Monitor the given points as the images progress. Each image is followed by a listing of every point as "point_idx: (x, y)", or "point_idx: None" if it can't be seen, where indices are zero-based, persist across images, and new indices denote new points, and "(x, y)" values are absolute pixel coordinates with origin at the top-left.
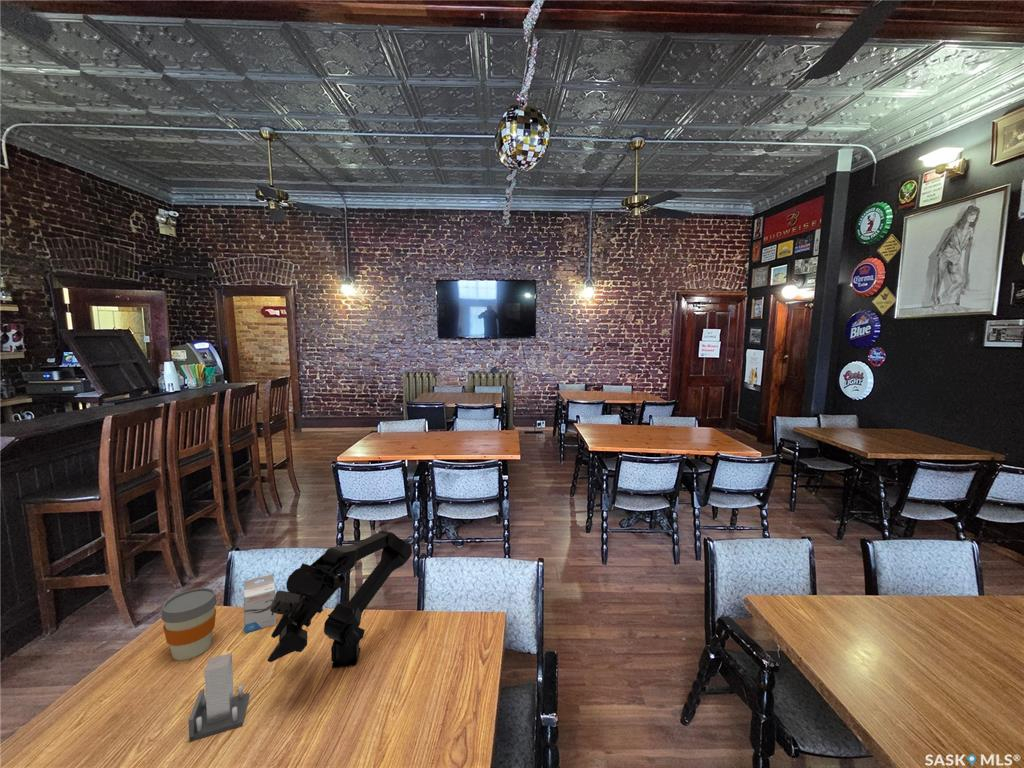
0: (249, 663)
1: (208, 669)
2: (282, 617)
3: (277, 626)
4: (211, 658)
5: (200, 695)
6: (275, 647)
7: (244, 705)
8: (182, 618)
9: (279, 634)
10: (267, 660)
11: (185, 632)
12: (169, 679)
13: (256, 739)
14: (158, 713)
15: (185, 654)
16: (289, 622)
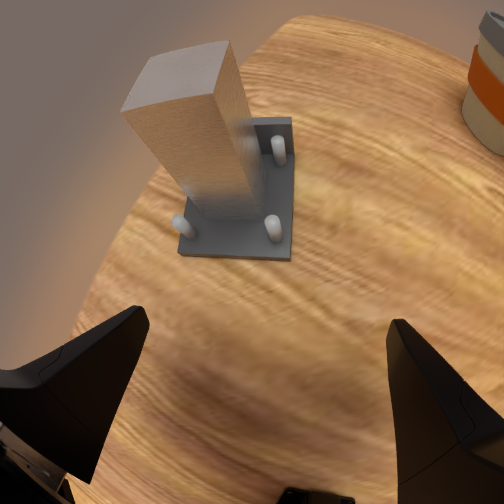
0: (436, 245)
1: (150, 62)
2: (460, 439)
3: (421, 373)
4: (222, 45)
5: (265, 122)
6: (78, 353)
7: (237, 250)
8: (489, 33)
9: (388, 376)
10: (133, 306)
11: (481, 66)
12: (413, 96)
13: (128, 290)
14: (318, 92)
15: (466, 108)
16: (413, 467)
